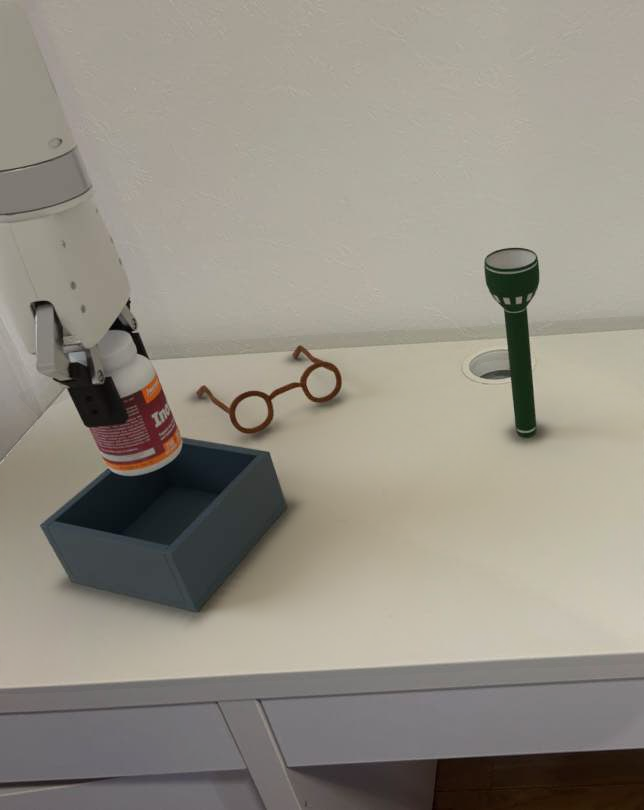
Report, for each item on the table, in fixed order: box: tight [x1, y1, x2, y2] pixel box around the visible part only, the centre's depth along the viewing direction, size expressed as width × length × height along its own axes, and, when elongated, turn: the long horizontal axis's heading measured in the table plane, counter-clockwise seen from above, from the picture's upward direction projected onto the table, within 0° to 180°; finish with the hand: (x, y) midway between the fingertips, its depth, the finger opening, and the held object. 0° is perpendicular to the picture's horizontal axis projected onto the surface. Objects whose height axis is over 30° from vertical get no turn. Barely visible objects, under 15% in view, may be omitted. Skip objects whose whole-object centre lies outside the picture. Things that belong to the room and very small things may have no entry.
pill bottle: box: [69, 330, 182, 476], centre depth 65 cm, size 6×6×11 cm
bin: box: [39, 436, 288, 613], centre depth 72 cm, size 14×14×7 cm
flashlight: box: [483, 247, 540, 439], centre depth 79 cm, size 5×5×20 cm
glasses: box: [196, 344, 343, 435], centre depth 93 cm, size 13×13×5 cm
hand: (121, 397), depth 65 cm, fingers closed on pill bottle, 6 cm apart
